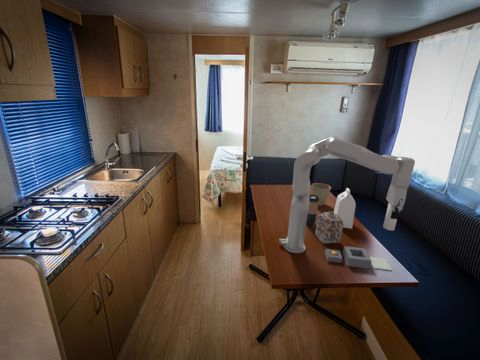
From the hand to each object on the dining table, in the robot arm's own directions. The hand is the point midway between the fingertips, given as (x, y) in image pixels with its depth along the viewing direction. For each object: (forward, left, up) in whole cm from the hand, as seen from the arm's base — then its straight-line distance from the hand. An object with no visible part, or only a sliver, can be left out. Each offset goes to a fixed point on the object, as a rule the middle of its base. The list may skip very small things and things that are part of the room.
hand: (391, 215), depth 133 cm
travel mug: (-33, +40, -29) cm, 60 cm away
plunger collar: (-24, 0, -29) cm, 38 cm away
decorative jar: (-24, +21, -29) cm, 44 cm away
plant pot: (-22, +77, -29) cm, 85 cm away
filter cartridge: (0, 0, -7) cm, 7 cm away
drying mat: (0, 0, -29) cm, 29 cm away
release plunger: (-25, 0, -29) cm, 38 cm away
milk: (-10, +45, -29) cm, 55 cm away
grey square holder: (-12, 0, -29) cm, 32 cm away
